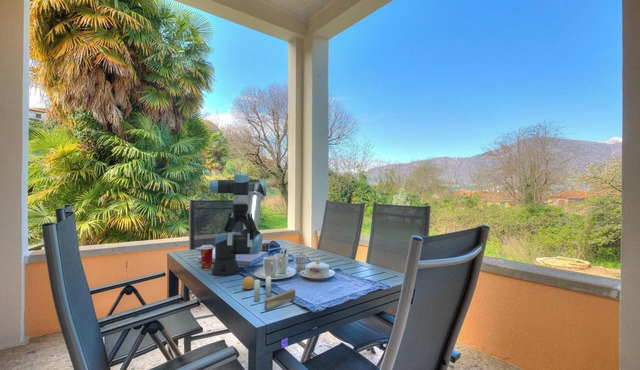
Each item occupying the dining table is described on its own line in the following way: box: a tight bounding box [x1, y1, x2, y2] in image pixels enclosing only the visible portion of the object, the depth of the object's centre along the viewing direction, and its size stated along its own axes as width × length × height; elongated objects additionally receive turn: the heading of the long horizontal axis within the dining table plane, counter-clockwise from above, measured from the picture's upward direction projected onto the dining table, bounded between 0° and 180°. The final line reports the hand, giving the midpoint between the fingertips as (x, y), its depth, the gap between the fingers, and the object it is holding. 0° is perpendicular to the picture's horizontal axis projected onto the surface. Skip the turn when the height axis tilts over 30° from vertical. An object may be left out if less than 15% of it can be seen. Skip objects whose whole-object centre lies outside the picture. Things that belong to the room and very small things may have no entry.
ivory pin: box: [265, 275, 272, 299], centre depth 131 cm, size 2×2×9 cm
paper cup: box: [199, 244, 214, 270], centre depth 175 cm, size 8×8×14 cm
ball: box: [241, 276, 255, 290], centre depth 140 cm, size 6×6×6 cm
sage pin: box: [253, 279, 261, 303], centre depth 126 cm, size 2×2×9 cm
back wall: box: [264, 288, 296, 311], centre depth 122 cm, size 2×16×4 cm, turn 141°
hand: (239, 245), depth 143 cm, fingers open, 13 cm apart
